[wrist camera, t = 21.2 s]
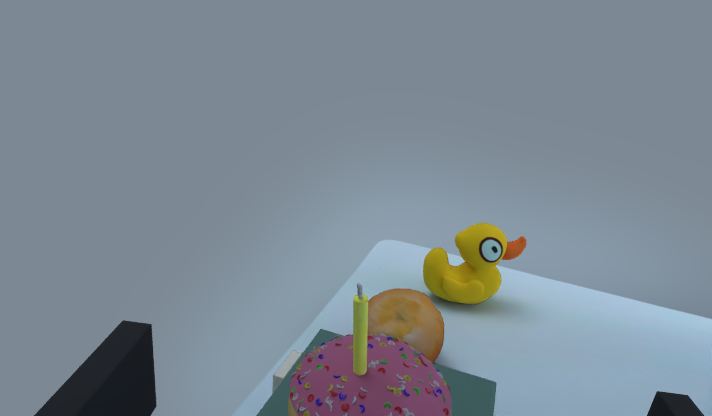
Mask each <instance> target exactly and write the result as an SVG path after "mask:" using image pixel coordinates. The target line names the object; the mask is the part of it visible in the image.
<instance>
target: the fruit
mask: <svg viewBox="0 0 712 416" xmlns="http://www.w3.org/2000/svg"><path fill="white" fill-rule="evenodd" d="M371 333H376V334H377V335H380V334H381V333H383V334H385V335H386V337H395V338H397V339H398V340H399V341H402V342H407V343H408V345H410V346H411V347H413V348H416V349H417V351H418V352H419V353H422V354H423V355H424V356H425V358H426V359H428V360H430V361H431V363H434V362H435V360H436V359H437V357H438V355H439V353H440V351H441V348H442V346H443V340H444V322H443V318H442V316H441V313H440V311H438V310H437V309H436V307H435V306H434V304H433V303H432V301H431V300H430V299H429V297H428V296H427V295H425V294H424V293H421V292H419V291H416V290H411V289H391V290H388V291H384V292H382V293H379V294H378V295H376V296H374V297H372V298H371V299H370V300H369V301H368V330H367V334H371ZM395 338H394V339H395Z"/></svg>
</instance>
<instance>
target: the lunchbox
mask: <svg viewBox="0 0 712 416" xmlns="http://www.w3.org/2000/svg"><path fill="white" fill-rule="evenodd" d="M337 335H339V334H336V333H333V332H329V331H326V330H323V329H320V331H319V332H318V333H317V335H316V336H315V338H314V339H313V340H312V342H311V343H310V344H309V346H308V347H307V348H306V350H305V351H304V352H303V354H302V353H301V352H298V351H295V350H292V352H291V353H290V354H289V356H288V357H287V358H286V359H285V361H284V362H283V363H282V365H281V366H280V367H279V368H278V370H277V371H276V372H275V374H274V375H273V393H272V396H271V397H270V398H269V400H268V401H267V402H266V404H265V405H264V406H263V408H262V409H261V410H260V412H259V413H258V415H257V416H288V400H289V394H290V389H289V385H290V381H291V378H292V377H291V375H292V374H293V373H294V372H295V371H296V369H297V366H298V365H299V364H300V363H301V361H302V360H303V359H304V358H305V355H307V354H308V353H311V352H310V351H311V350H313V349H314V346H315V347H316V348H317V347H319V346H320V345H321V344H322V343H327V342H329V341H330V340H332V339H335V336H337ZM339 336H341V337H343V336H342V335H339ZM337 338H338V337H337ZM430 363H431V362H430ZM431 364H432V365H433V366H434V367H435V368H436V369H438V370H439V372H440V373H441V374H442V375H443V380H445V381H446V383H447V385H448V386H449V388H450V391H449V392H450V395H451V416H493V413H494V403H495V392H496V382H494V381H490V380H487V379H484V378H480V377H477V376H474V375H471V374H467V373H464V372H461V371H457V370H454V369H451V368H448V367H444V366H441V365H438V364H434V363H431ZM441 374H440V375H441ZM494 416H496V415H494Z"/></svg>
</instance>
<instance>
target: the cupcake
mask: <svg viewBox="0 0 712 416" xmlns="http://www.w3.org/2000/svg"><path fill="white" fill-rule="evenodd" d="M357 288H358V294H357V295H355V296H354V302H353V335H346V336H343V337H341V336H339V335H337V336H335V339H332V340H330V341H329V342H327V343H322V344H321V345H320V346H319V347H317V348H316V347H315V346H314V349H313V350H311V351H310V352H311V353H308V354H307V355H305V358H304V359H303V360H302V361H301V363H300V364H299V365H298V366H297V369H296V371H295V372H294V373H293V374H292V375H291V377H292V378H291V381H290V385H289V389H290V394H289V400H288V416H451V395H450V392H449V391H450V388H449V386H448V385H447V383H446V381H445V380H443V375H442V374H441V373H440V372H439V370H438V369H436V368H435V367H434V366H433V365H432V364H431V363H430V362H431V361H430V360H428V359H426V358H425V356H424V355H423V354H422V353H419V352H418V351H417V349H416V348H413V347H411V346H410V345H408V343H407V342H402V341H399V340H398V339H397V338H395V337H386V335H385V334H383V333H381V334H380V335H377V334H376V333H371V334H367V330H368V297H367V296H366V295H364V294H362V285H361V284H360V283H358V284H357ZM337 337H338V338H337ZM394 338H395V339H394ZM440 374H441V375H440Z"/></svg>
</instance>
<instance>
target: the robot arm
mask: <svg viewBox="0 0 712 416" xmlns="http://www.w3.org/2000/svg"><path fill="white" fill-rule="evenodd" d="M151 327H152V326H151V324H146V323H137V322H131V321H122V322H121V323H120V324H119V325H118V326H117V327H116V329H115V330H114V331H113V332H112V333H111V334H110V335H109V336H108V337H107V338H106V339H105V340H104V341H103V343H102V344H101V345H100V346H99V347H98V348H97V349H96V350H95V351H94V352H93V353H92V354H91V356H90V357H88V359H87V360H86V361H85V362H84V363H83V364H82V365H81V366H80V367H79V368H78V369H77V370H76V371H75V373H74V374H73V375H72V376H71V377H70V378H69V379H68V380H67V381H66V382H65V383H64V384H63V385H62V386H61V388H59V390H58V391H57V392H56V393H55V394H54V395H53V396H52V397H51V398H50V399H49V400H48V401H47V402H46V404H45V405H44V406H43V407H42V408H41V409H40V410H39V411H38V412H37V413H36V414H35V415H34V416H151V414H152V412H153V411H154V409H155V407H156V393H155V375H154V359H153V344H152V343H153V342H152V328H151ZM647 416H704V415H703V414H702V412H701V411H700V410H699V409H698V407H697V406H696V405H695V404H694V402H693V401H692V400H691V399H690V397H689V396H688V395H682V394H674V393H667V392H659V391H657V393H656V395H655V398H654V400H653V402H652V405H651V407H650V410H649V412H648V415H647Z"/></svg>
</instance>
